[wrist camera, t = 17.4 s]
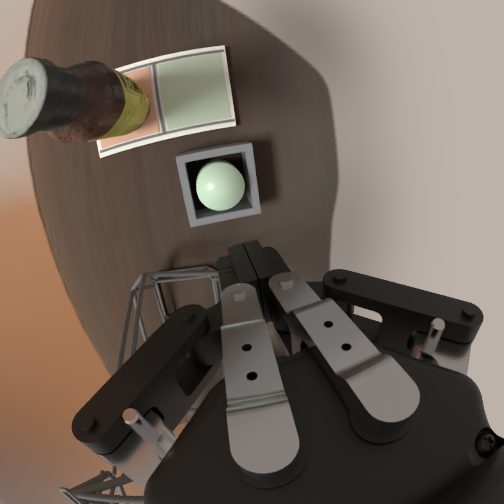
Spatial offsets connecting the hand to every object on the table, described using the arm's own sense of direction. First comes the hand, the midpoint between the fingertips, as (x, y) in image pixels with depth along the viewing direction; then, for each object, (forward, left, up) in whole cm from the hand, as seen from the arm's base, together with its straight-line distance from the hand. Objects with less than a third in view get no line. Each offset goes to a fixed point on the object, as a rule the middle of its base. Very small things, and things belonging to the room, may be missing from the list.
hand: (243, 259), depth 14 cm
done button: (0, 0, -20) cm, 20 cm away
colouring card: (+11, +5, -20) cm, 23 cm away
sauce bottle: (+11, +9, -19) cm, 24 cm away
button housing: (0, 0, -20) cm, 20 cm away
